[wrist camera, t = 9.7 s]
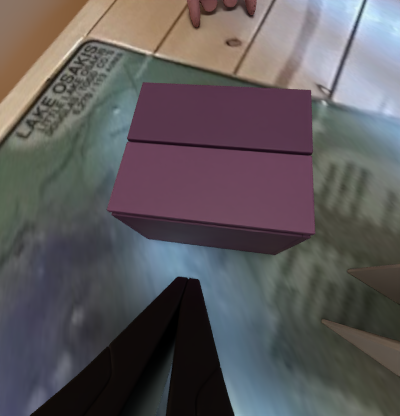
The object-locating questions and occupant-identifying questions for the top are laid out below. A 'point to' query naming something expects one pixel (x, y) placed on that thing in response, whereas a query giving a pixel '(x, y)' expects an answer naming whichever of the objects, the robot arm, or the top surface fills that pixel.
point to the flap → (216, 187)
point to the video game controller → (210, 4)
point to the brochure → (368, 342)
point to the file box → (221, 139)
